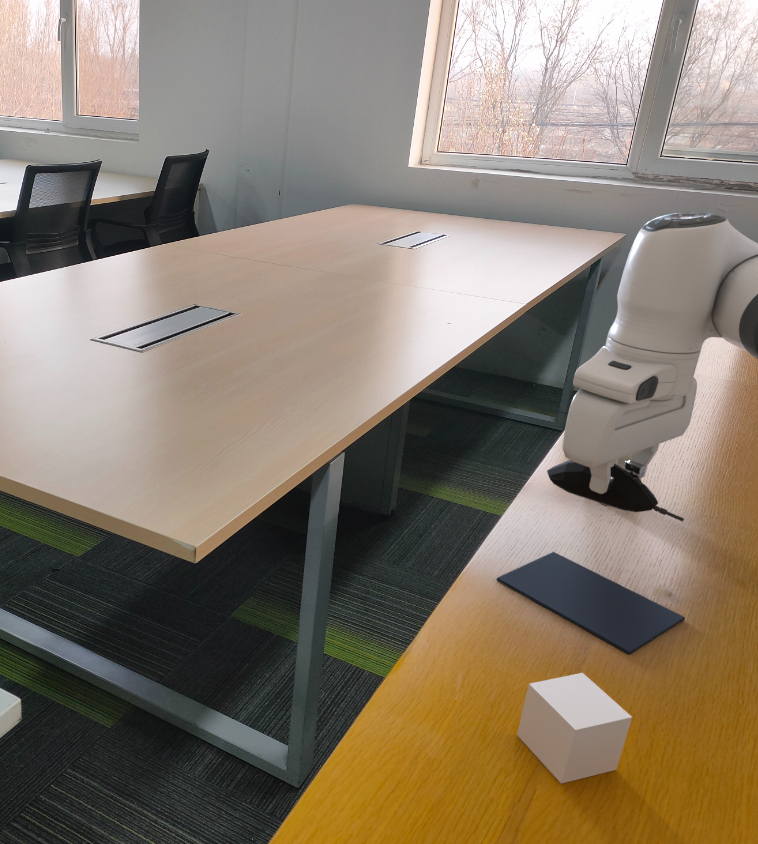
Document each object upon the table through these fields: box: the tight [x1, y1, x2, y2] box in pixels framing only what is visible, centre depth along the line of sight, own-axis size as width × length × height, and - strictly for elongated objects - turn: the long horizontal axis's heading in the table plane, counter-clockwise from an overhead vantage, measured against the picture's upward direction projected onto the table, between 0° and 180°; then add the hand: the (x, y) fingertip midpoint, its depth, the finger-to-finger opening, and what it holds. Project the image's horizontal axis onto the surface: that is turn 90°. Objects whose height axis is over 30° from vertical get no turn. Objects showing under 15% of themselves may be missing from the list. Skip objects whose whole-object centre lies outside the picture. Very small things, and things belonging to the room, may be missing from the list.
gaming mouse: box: [546, 459, 685, 523], centre depth 91 cm, size 6×15×4 cm, turn 44°
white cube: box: [516, 672, 633, 784], centre depth 72 cm, size 6×6×6 cm
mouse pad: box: [496, 551, 686, 655], centre depth 96 cm, size 17×12×1 cm
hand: (616, 483), depth 91 cm, fingers closed on gaming mouse, 5 cm apart
